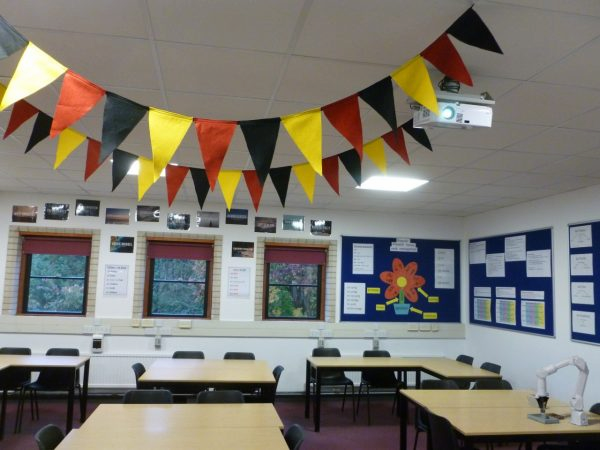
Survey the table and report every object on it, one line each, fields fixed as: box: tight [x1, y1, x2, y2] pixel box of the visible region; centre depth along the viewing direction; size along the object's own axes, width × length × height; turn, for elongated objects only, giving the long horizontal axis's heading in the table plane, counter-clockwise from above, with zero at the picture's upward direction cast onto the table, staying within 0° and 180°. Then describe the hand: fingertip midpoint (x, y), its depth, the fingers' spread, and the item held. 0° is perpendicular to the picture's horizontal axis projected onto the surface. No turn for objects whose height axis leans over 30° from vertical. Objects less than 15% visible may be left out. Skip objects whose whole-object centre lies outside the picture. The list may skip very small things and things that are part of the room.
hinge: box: [526, 393, 549, 410], centre depth 370 cm, size 17×5×10 cm, turn 10°
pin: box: [539, 402, 546, 414], centre depth 331 cm, size 4×4×7 cm
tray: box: [526, 412, 560, 425], centre depth 330 cm, size 16×12×2 cm
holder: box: [544, 412, 565, 421], centre depth 337 cm, size 9×9×2 cm
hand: (542, 407), depth 331 cm, fingers closed on pin, 4 cm apart
